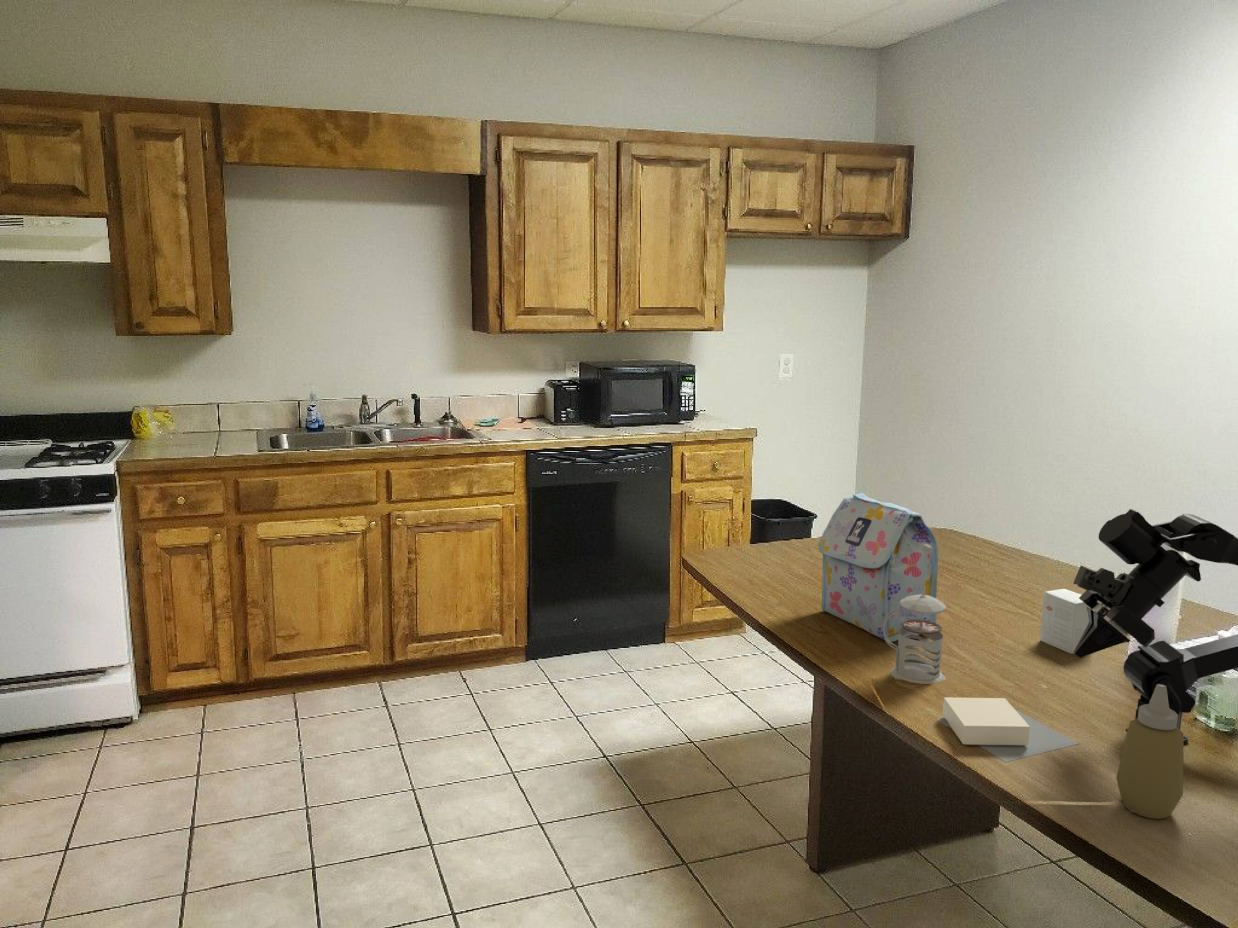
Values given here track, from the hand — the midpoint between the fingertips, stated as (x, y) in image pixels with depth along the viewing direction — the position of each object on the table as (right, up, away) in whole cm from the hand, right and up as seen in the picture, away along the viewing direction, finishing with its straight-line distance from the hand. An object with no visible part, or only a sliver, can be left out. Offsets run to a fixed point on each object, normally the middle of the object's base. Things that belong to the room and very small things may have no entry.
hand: (1076, 655), depth 146 cm
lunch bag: (-18, -4, +52) cm, 55 cm away
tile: (-9, -11, +2) cm, 14 cm away
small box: (+17, -6, +40) cm, 44 cm away
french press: (-18, -9, +25) cm, 32 cm away
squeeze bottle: (+1, -18, -18) cm, 25 cm away
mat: (-10, -13, +3) cm, 17 cm away
